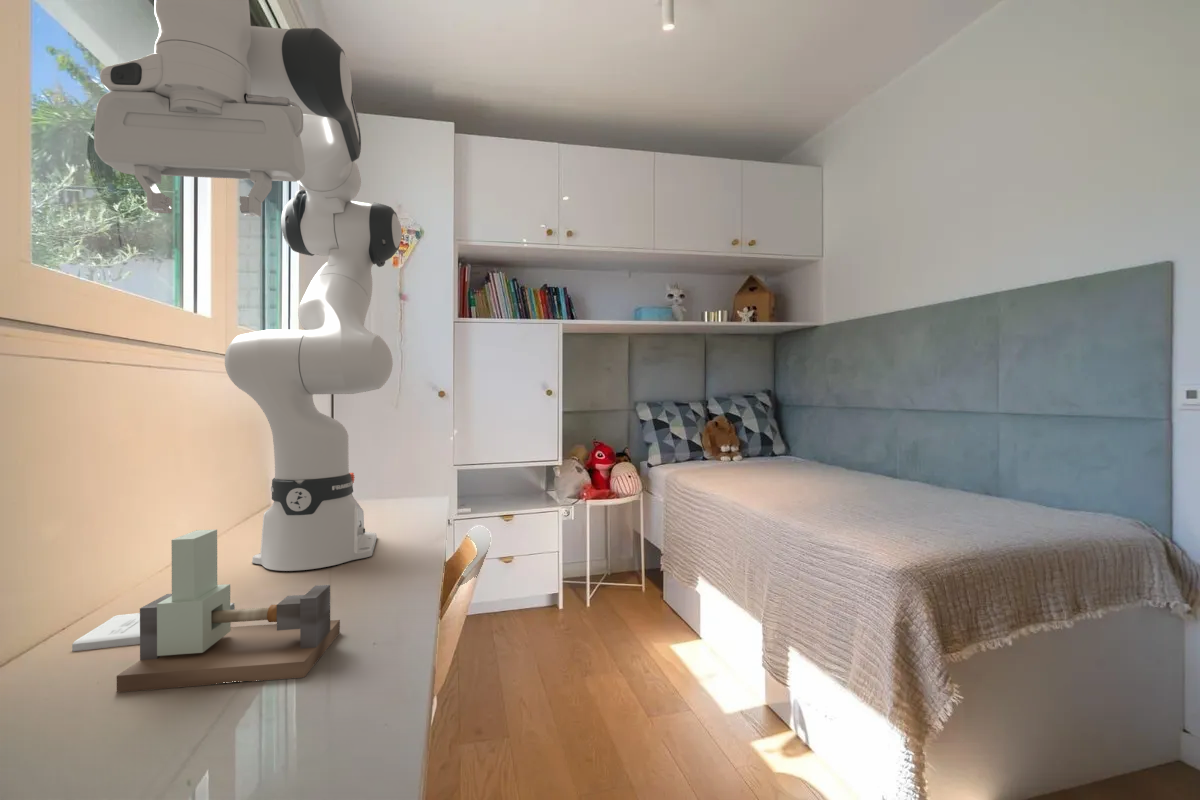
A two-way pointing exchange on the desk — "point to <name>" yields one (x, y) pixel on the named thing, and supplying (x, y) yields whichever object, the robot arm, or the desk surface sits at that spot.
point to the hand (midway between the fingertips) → (205, 213)
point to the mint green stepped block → (192, 597)
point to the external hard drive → (114, 633)
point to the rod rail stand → (240, 646)
